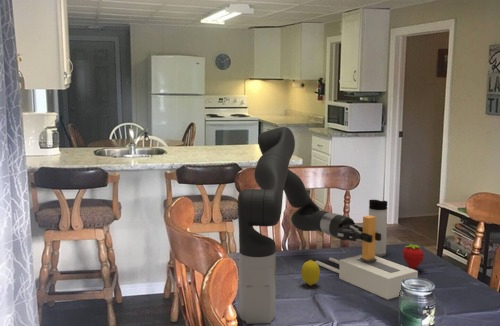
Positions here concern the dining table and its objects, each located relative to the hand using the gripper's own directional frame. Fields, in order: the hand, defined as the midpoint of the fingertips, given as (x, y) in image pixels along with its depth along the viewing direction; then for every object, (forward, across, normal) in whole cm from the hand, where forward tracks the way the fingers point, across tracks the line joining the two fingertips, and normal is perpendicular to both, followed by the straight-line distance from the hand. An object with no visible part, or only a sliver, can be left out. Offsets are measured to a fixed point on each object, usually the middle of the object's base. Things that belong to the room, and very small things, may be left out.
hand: (375, 238), depth 159 cm
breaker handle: (-3, 0, +7) cm, 8 cm away
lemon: (-9, -17, +14) cm, 24 cm away
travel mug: (-20, +21, +14) cm, 33 cm away
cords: (-17, 0, +14) cm, 22 cm away
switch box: (+1, 0, +14) cm, 14 cm away
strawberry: (-2, +19, +14) cm, 24 cm away
